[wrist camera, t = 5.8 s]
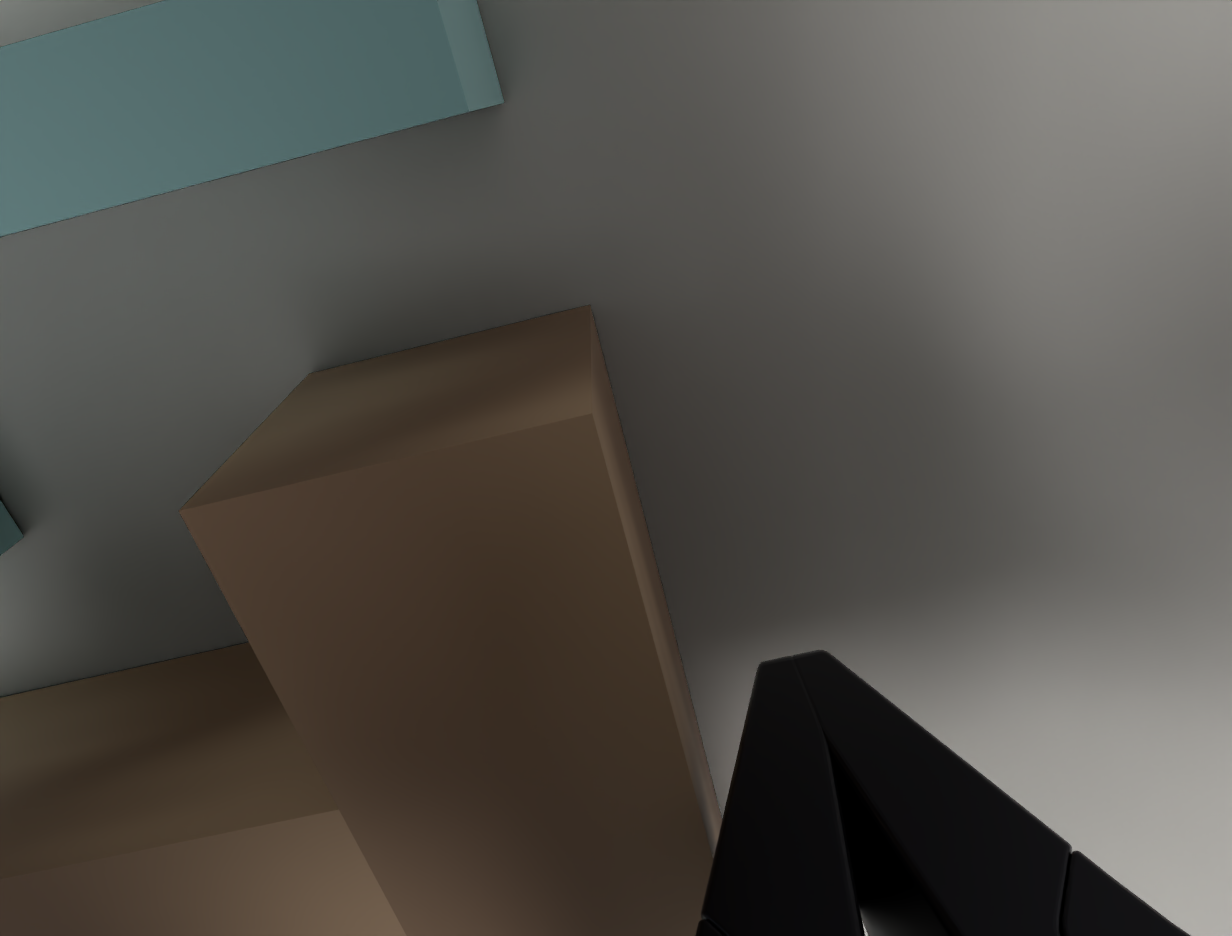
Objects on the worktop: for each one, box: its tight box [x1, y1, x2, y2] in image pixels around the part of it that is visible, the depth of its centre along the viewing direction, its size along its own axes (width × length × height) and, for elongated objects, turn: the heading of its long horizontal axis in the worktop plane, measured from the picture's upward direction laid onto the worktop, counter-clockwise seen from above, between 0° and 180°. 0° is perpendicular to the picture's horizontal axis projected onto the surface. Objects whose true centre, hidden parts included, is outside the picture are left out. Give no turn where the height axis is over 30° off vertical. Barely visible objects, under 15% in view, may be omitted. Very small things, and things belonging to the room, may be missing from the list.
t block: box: [0, 305, 722, 936], centre depth 9 cm, size 9×9×3 cm
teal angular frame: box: [0, 0, 504, 556], centre depth 10 cm, size 14×15×2 cm
